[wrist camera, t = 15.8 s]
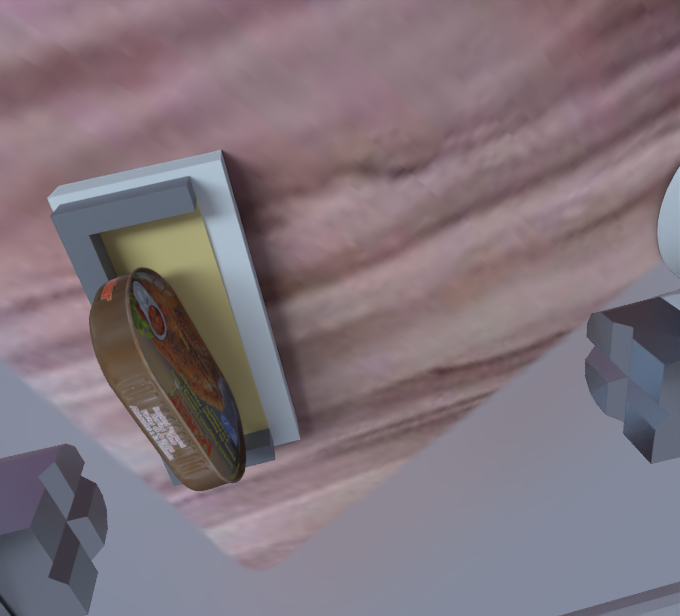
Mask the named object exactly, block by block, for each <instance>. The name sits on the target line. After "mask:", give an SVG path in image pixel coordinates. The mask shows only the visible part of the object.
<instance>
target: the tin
mask: <svg viewBox="0 0 680 616" xmlns="http://www.w3.org/2000/svg"><path fill="white" fill-rule="evenodd" d="M89 325H90V334H91V339H92V344H93V348H94V352H95V355H96V358H97V360H98V363H99V365H100V367H101V370H102V372H103V374H104V376H105V378H106V380H107V382H108V383H109V385H110V387H111V388H112V389H113V391H114V392H115V394H116V395H117V397H118V398H119V399H120V401H121V402H122V403H123V405H124V406H125V408H126V409H127V410H128V412H129V413H130V415H131V416H132V417H133V419H134V420H135V421H136V423H137V424H138V426H139V427H140V428H141V430H142V431H143V433H144V434H145V435H146V437H147V438H148V439H149V441H150V442H151V443H152V445H153V446H154V447H155V449H156V450H157V451H158V453H159V454H160V455H161V457H162V458H163V460H164V461H165V462H166V464H167V465H168V466H169V468H170V469H171V470H172V472H173V473H174V474H175V476H176V477H177V478H178V479H179V480H180V481H181V482H182V483H183V484H184V485H185V486H186V487H188V488H190V489H191V490H195V491H204V490H209V489H212V488H215V487H218V486H221V485H224V484H227V483H236V482H238V481H239V480H240V479H241V478H242V477H243V474H244V472H245V467H246V444H245V436H244V431H243V426H242V422H241V417H240V413H239V410H238V407H237V404H236V401H235V398H234V396H233V394H232V391H231V389H230V387H229V385H228V383H227V381H226V379H225V378H224V376H223V374H222V372H221V371H220V369H219V367H218V365H217V364H216V362H215V360H214V359H213V357H212V355H211V353H210V352H209V350H208V348H207V347H206V345H205V343H204V342H203V340H202V338H201V336H200V335H199V333H198V331H197V329H196V328H195V326H194V324H193V322H192V321H191V319H190V317H189V315H188V314H187V312H186V310H185V309H184V307H183V305H182V303H181V302H180V300H179V298H178V297H177V295H176V294H175V292H174V291H173V289H172V288H171V286H170V285H169V284H168V283H167V282H166V281H165V279H164V278H163V277H161V276H160V275H159V274H158V273H157V272H155V271H154V270H152V269H150V268H146V267H140V268H137V269H135V270H134V271H132V272H131V273H128V274H126V275H123V276H120V277H117V278H115V279H112V280H110V281H108V282H106V283H104V284H103V285H102V286H101V287H100V288H99V289H98V291H97V293H96V295H95V298H94V301H93V304H92V307H91V310H90V316H89Z"/></svg>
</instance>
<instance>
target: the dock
mask: <svg viewBox="0 0 680 616" xmlns="http://www.w3.org/2000/svg"><path fill="white" fill-rule="evenodd" d="M47 199H48V201H49V203H50V205H51V207H52V210H53V213H52V215H51V216H50V217H51V219H52V221H53V223H54V226H55V228H56V230H57V232H58V234H59V236H60V239H61V241H62V243H63V245H64V247H65V249H66V252H67V254H68V256H69V258H70V260H71V262H72V265H73V267H74V269H75V271H76V273H77V276H78V278H79V280H80V282H81V284H82V286H83V289H84V291H85V293H86V295H87V297H88V299H89V302H90V304H91V306H92V304H93V301H94V298H95V295H96V293H97V291H98V289H99V288H100V287H101V286H102V285H103V284H104V283H106V282H108V281H110V280H112V279H115V278H117V277H120V276H123V275H126V274H128V273H131V272H132V271H134V270H135V269H137V268H140V267H146V268H150V269H152V270H154V271H155V272H157V273H158V274H159V275H160V276H161V277H163V278H164V279H165V281H166V282H167V283H168V284H169V285H170V286H171V288H172V289H173V291H174V292H175V294H176V295H177V297H178V298H179V300H180V302H181V303H182V305H183V307H184V309H185V310H186V312H187V314H188V315H189V317H190V319H191V321H192V322H193V324H194V326H195V328H196V329H197V331H198V333H199V335H200V336H201V338H202V340H203V342H204V343H205V345H206V347H207V348H208V350H209V352H210V353H211V355H212V357H213V359H214V360H215V362H216V364H217V365H218V367H219V369H220V371H221V372H222V374H223V376H224V378H225V379H226V381H227V383H228V385H229V387H230V389H231V391H232V394H233V396H234V398H235V401H236V404H237V407H238V410H239V413H240V417H241V422H242V426H243V431H244V436H245V444H246V467H249V466H253V465H257V464H261V463H264V462H268V461H272V460H275V453H274V446H277V445H281V444H285V443H289V442H293V441H297V440H300V435H299V428H298V422H297V417H296V414H295V410H294V407H293V403H292V399H291V396H290V392H289V389H288V385H287V382H286V378H285V375H284V371H283V368H282V364H281V360H280V357H279V353H278V350H277V346H276V343H275V339H274V336H273V332H272V328H271V325H270V321H269V318H268V314H267V311H266V307H265V304H264V300H263V297H262V293H261V289H260V286H259V282H258V279H257V275H256V272H255V268H254V265H253V261H252V258H251V254H250V250H249V247H248V243H247V240H246V236H245V233H244V229H243V226H242V222H241V219H240V215H239V211H238V208H237V204H236V201H235V197H234V194H233V190H232V187H231V183H230V179H229V176H228V172H227V169H226V165H225V162H224V158H223V155H222V151H221V150H218V151H214V152H209V153H205V154H200V155H196V156H191V157H187V158H182V159H178V160H173V161H169V162H164V163H159V164H155V165H150V166H146V167H141V168H137V169H132V170H128V171H123V172H119V173H114V174H110V175H105V176H101V177H96V178H92V179H87V180H83V181H78V182H74V183H69V184H65V185H60V186H58V187H57V188H56V189H55V191H54V192H53V193H52V194H51V195H50V196H49V197H48V198H47ZM160 456H161V455H160ZM161 458H162V457H161ZM162 460H163V458H162ZM163 462H164V465H165V467H166V469H167V471H168V473H169V475H170V478H171V480H172V482H173V484H174V486H175V485H179V484H182V482H181V481H180V480H179V479H178V478H177V477H176V476H175V474H174V473H173V472H172V470H171V469H170V468H169V466H168V465H167V464H166V462H165V461H164V460H163Z"/></svg>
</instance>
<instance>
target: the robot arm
mask: <svg viewBox="0 0 680 616" xmlns="http://www.w3.org/2000/svg"><path fill="white" fill-rule="evenodd" d="M657 235H658V244H659V249H660V253H661V256H662V258H663V260H664V262H665V264H666V265H667V267H668V268H669V270H670V271H671V272H672V273H673V274H674V275H676V276H677V277H678V278H680V167H679V169H678V170H677V172H676V173H675V175H674V177H673V179H672V181H671V183H670V185H669V187H668V189H667V191H666V194H665V196H664V199H663V202H662V205H661V209H660V214H659V219H658V229H657ZM587 337H588V338H589V340H590V341H591V342H592V343H593V344H594V345H595V347H594V348H593V349H592V351H591V352H590V354H589V355H588V357H587V358H586V360H585V377H586V381H587V384H588V387H589V391H590V393H591V395H592V397H593V399H594V400H595V402H596V403H597V405H598V406H599V407H600V409H601V410H602V411H603V412H604V413H605V414H606V415H608V416H610V417H613V418H616V419H618V420H621V421H623V422H624V430H623V433H624V435H625V436H626V437H627V438H628V440H630V442H631V443H632V444H633V445H634V446H635V447H636V448H637V449H638V450H639V451H640V453H641V454H643V456H644V457H645V458H646V459H647V460H648V461H649V462H650V463H651V464H653V463H657V462H661V461H665V460H669V459H674V458H678V457H680V290H676V291H673V292H669V293H666V294H662V295H658V296H655V297H652V298H651V299H647V300H644V301H640V302H636V303H632V304H628V305H624V306H620V307H616V308H612V309H608V310H604V311H600V312H597V313H593V314H591V316H590V318H589V321H588V323H587ZM84 463H85V462H84V461H83V459H82V457H81V456H80V454H79V452H78V451H77V449H76V447H75V446H72V445H69V444H62V445H58V446H54V447H49V448H45V449H41V450H36V451H32V452H27V453H23V454H18V455H14V456H10V457H5V458H1V459H0V616H85V615H88V612H89V608H90V604H91V600H92V595H93V591H94V587H95V583H96V578H97V574H98V571H97V570H96V568H95V566H94V565H93V563H92V561H91V560H92V559H93V558H94V557H95V556H96V555H97V553H98V552H99V551H100V550H101V549H102V548H103V546H104V544H105V539H106V534H107V529H108V526H107V509H106V505H105V502H104V499H103V495H102V493H101V491H100V489H99V488H98V486H97V484H96V483H94V482H92V481H90V480H88V479H86V478H84V477H82V476H81V473H82V470H83V466H84ZM560 616H680V582H676V583H673V584H669V585H666V586H662V587H659V588H655V589H652V590H648V591H645V592H641V593H638V594H634V595H631V596H627V597H624V598H620V599H617V600H613V601H610V602H606V603H603V604H599V605H595V606H592V607H588V608H585V609H582V610H578V611H574V612H571V613H567V614H564V615H560Z"/></svg>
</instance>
